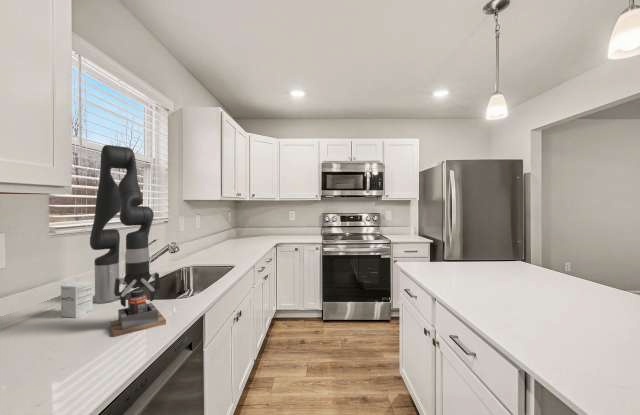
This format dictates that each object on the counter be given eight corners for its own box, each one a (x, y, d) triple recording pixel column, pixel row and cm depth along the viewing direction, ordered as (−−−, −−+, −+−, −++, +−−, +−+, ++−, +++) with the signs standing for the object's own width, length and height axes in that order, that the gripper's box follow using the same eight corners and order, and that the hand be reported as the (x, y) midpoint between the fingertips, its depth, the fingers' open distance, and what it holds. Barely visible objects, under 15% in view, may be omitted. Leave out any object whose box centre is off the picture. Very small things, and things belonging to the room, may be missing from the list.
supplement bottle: (150, 317, 110) (150, 288, 110) (139, 324, 104) (139, 293, 104) (136, 317, 110) (135, 287, 110) (124, 323, 104) (123, 292, 104)
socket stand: (110, 325, 106) (109, 310, 106) (158, 314, 117) (158, 301, 117) (113, 336, 97) (113, 320, 97) (165, 323, 108) (165, 309, 108)
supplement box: (60, 317, 115) (59, 285, 115) (78, 310, 122) (78, 280, 122) (75, 318, 114) (75, 286, 113) (93, 311, 121) (93, 281, 121)
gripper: (156, 256, 114) (157, 296, 115) (112, 261, 105) (113, 305, 105) (161, 259, 109) (161, 301, 109) (115, 264, 99) (115, 311, 100)
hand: (137, 303), depth 107 cm, fingers open, 8 cm apart
